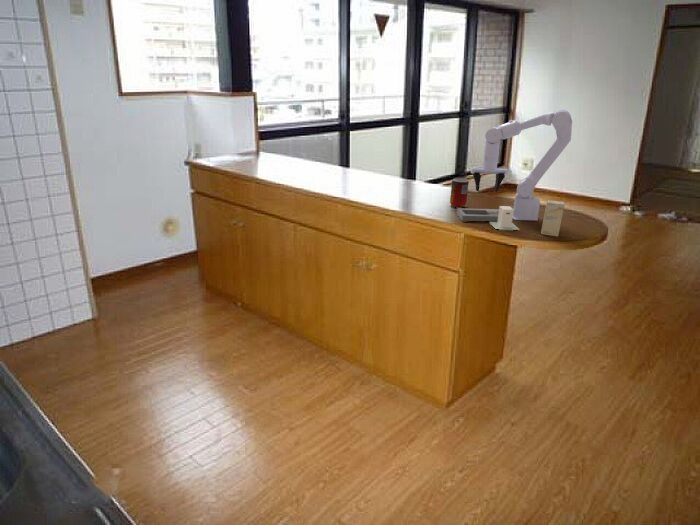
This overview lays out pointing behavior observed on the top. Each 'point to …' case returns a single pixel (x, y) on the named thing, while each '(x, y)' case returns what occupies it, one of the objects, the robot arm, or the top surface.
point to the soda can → (459, 192)
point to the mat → (503, 227)
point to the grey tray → (478, 214)
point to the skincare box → (552, 218)
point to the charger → (505, 216)
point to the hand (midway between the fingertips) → (486, 191)
